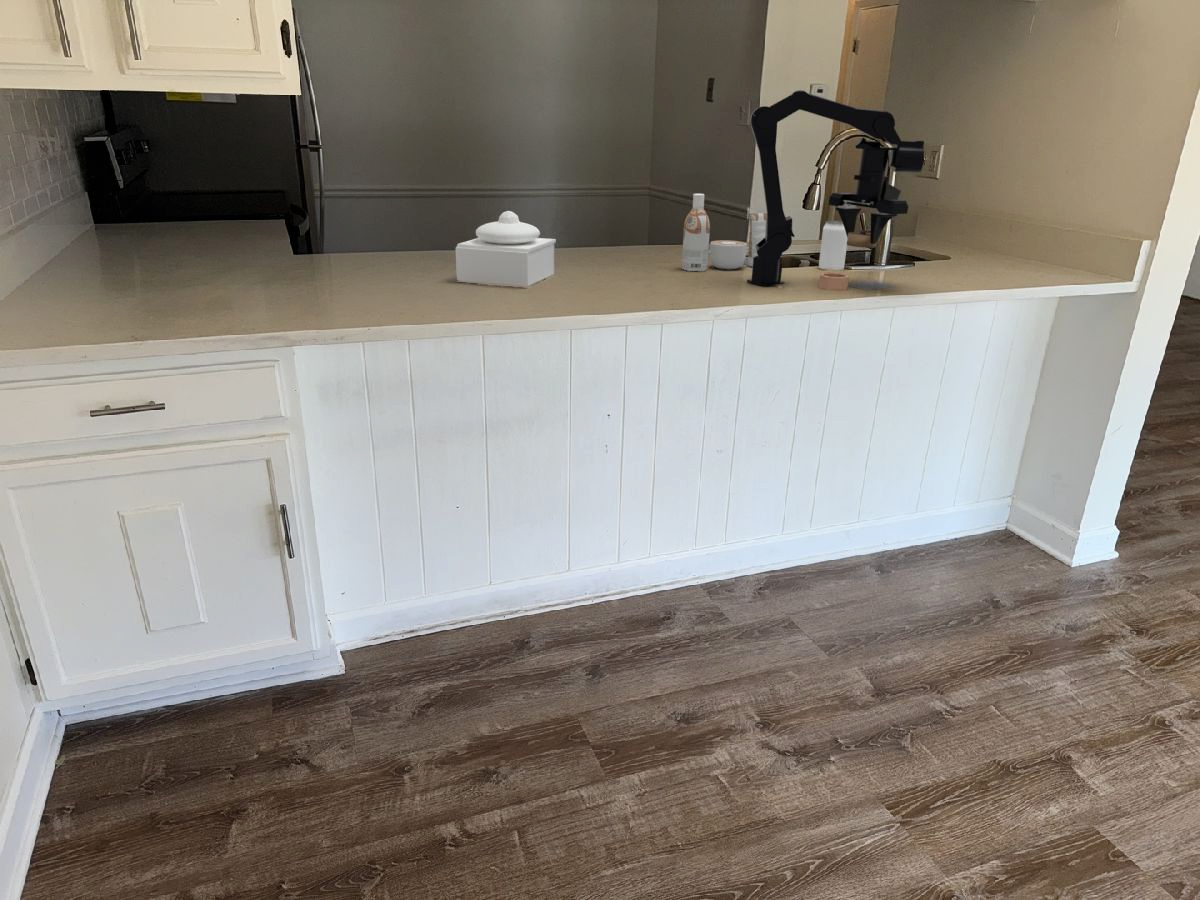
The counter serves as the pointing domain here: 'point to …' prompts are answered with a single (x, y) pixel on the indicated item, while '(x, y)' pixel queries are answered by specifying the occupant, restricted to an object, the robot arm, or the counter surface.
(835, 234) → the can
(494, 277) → the white lidded container
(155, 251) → the counter surface
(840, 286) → the bowl
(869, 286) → the mat
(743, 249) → the cosmetic set
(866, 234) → the lid
